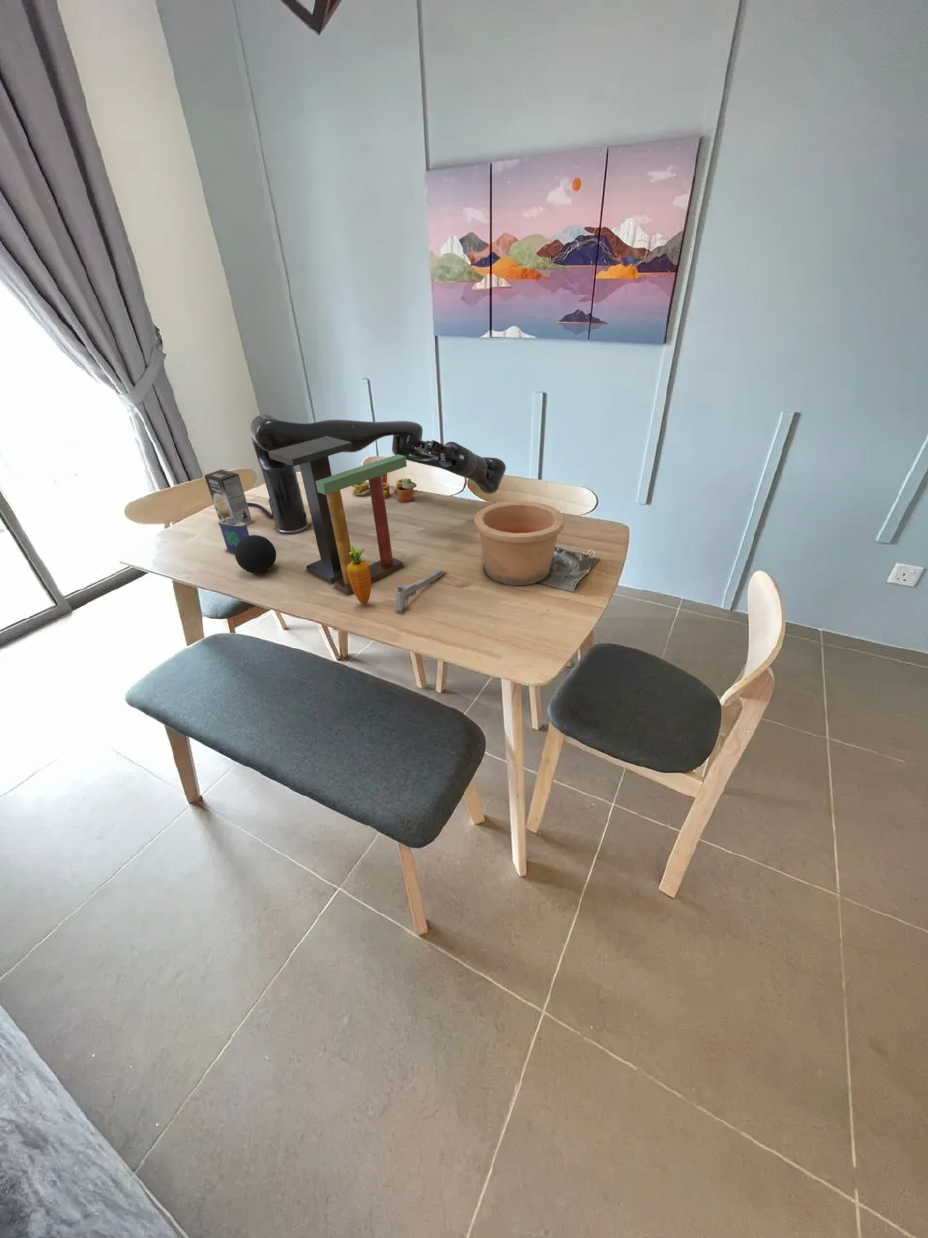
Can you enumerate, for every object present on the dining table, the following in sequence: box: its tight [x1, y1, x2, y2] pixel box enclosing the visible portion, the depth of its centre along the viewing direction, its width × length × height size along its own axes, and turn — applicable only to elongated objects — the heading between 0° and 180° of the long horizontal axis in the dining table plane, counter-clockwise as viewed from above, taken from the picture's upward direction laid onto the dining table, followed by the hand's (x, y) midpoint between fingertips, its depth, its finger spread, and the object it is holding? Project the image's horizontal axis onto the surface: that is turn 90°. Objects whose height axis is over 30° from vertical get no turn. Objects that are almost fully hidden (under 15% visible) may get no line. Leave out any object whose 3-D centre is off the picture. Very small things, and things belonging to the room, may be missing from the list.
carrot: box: [347, 546, 372, 607], centre depth 112 cm, size 5×5×15 cm
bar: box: [315, 454, 408, 495], centre depth 114 cm, size 24×3×2 cm, turn 138°
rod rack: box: [326, 475, 404, 595], centre depth 120 cm, size 18×6×25 cm, turn 138°
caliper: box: [395, 569, 445, 613], centre depth 118 cm, size 20×1×6 cm, turn 153°
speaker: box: [234, 534, 277, 574], centre depth 129 cm, size 10×10×10 cm
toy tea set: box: [351, 460, 418, 503], centre depth 174 cm, size 26×16×10 cm, turn 63°
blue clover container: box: [218, 516, 250, 554], centre depth 139 cm, size 9×3×11 cm, turn 68°
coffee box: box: [204, 468, 253, 526], centre depth 155 cm, size 9×6×16 cm
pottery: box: [473, 500, 565, 586], centre depth 123 cm, size 22×22×14 cm
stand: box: [268, 436, 353, 585], centre depth 122 cm, size 16×11×32 cm
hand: (419, 441), depth 123 cm, fingers open, 8 cm apart
